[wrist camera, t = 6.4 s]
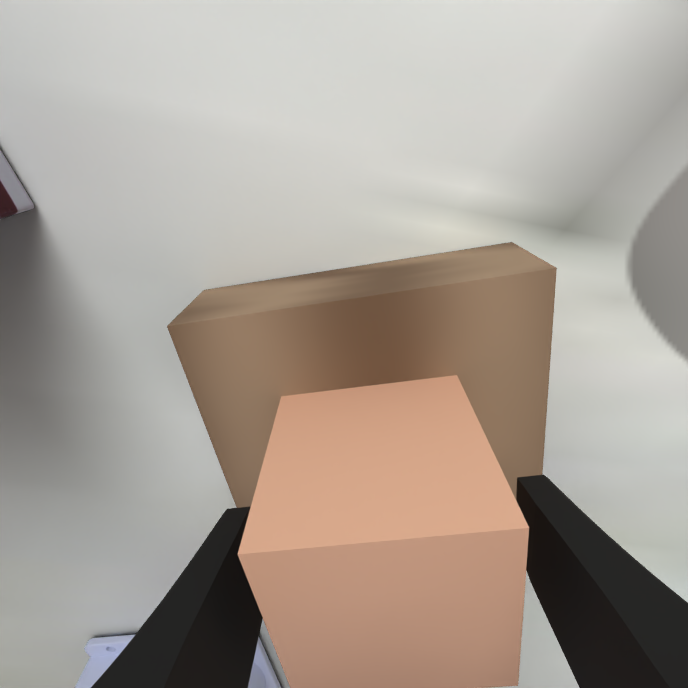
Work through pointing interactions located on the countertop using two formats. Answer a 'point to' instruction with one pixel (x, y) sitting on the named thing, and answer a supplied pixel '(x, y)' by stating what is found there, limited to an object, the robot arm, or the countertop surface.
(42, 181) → the countertop surface
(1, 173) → the supplement box
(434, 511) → the terracotta cube
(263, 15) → the countertop surface
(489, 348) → the walnut base
